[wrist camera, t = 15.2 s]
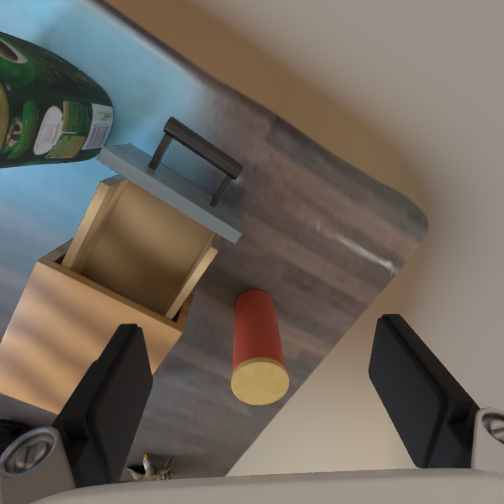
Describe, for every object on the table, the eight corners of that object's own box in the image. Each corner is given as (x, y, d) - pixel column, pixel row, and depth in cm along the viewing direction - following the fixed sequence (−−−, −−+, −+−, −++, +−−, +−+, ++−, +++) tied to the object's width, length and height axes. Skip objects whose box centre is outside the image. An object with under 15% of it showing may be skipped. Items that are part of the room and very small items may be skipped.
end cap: (41, 467, 46) (10, 519, 40) (-7, 458, 45) (-47, 510, 39) (49, 427, 43) (16, 478, 36) (-3, 416, 41) (-46, 466, 35)
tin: (226, 310, 36) (220, 391, 25) (249, 281, 34) (252, 353, 23) (259, 328, 37) (267, 412, 26) (282, 300, 35) (301, 377, 24)
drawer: (152, 98, 26) (128, 89, 20) (266, 178, 29) (272, 190, 23) (69, 267, 32) (34, 296, 26) (171, 318, 35) (158, 353, 29)
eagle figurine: (152, 443, 43) (100, 475, 43) (163, 500, 39) (107, 535, 39) (177, 441, 49) (133, 469, 49) (190, 490, 45) (141, 520, 45)
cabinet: (84, 230, 31) (36, 260, 24) (195, 290, 34) (182, 332, 27) (33, 335, 36) (-19, 386, 29) (134, 379, 40) (110, 434, 32)
